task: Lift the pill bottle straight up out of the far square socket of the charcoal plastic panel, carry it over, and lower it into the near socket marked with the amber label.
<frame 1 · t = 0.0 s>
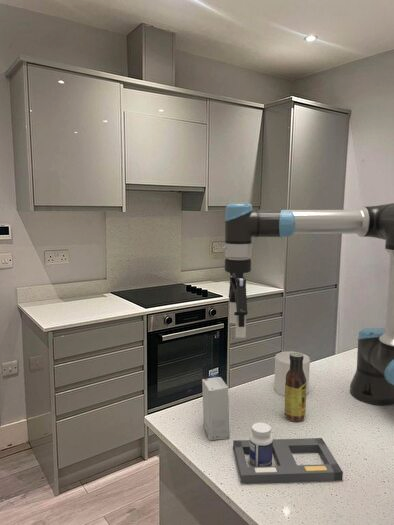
hand: (237, 329, 119), 28 cm above the counter, fingers open, 13 cm apart
socket panel: (284, 463, 102), on the counter
skincare box: (215, 432, 116), on the counter
sauce bottle: (294, 417, 124), on the counter
cup: (291, 390, 142), on the counter
pill bottle: (260, 464, 101), resting in socket panel
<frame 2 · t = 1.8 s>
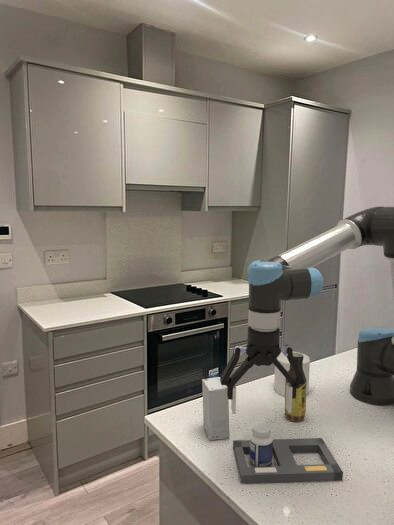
hand: (260, 410, 99), 14 cm above the counter, fingers open, 13 cm apart
nothing on the counter moved.
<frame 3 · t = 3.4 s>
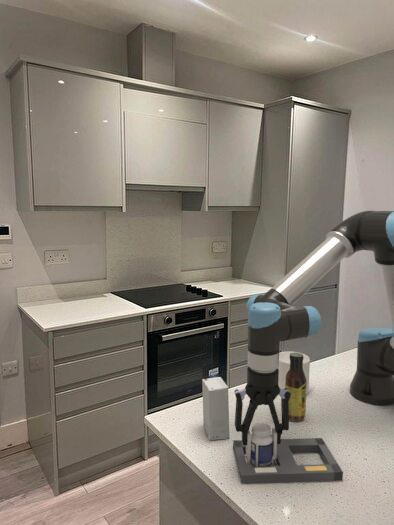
hand: (260, 455, 101), 2 cm above the counter, fingers closed on pill bottle, 6 cm apart
pill bottle: (260, 464, 101), resting in socket panel, touching gripper
everything else where it was.
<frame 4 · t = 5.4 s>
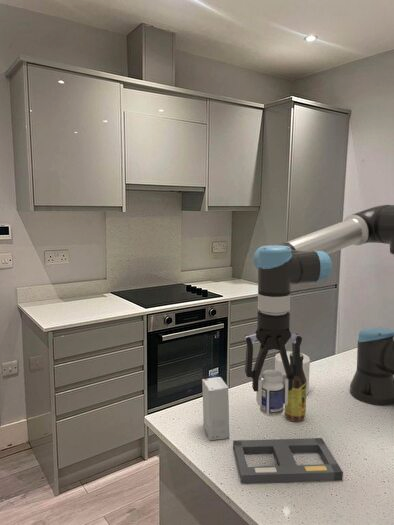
hand: (271, 402, 99), 16 cm above the counter, fingers closed on pill bottle, 6 cm apart
pill bottle: (271, 412, 100), point 14 cm above the counter, touching gripper
everything else where it was.
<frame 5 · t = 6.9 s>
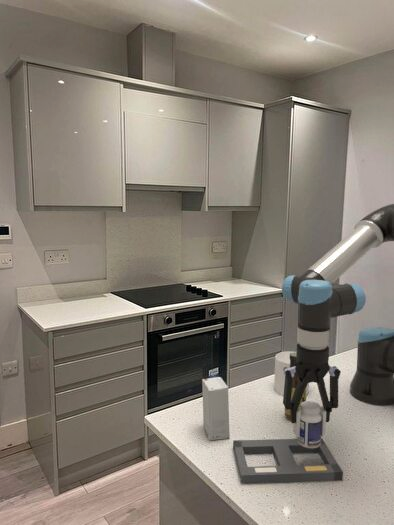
hand: (309, 433, 101), 8 cm above the counter, fingers closed on pill bottle, 6 cm apart
pill bottle: (308, 443, 101), point 5 cm above the counter, touching gripper
everything else where it was.
when the fingers open (4 cm above the counter, at t = 7.8 s): pill bottle drops 1 cm, resting in socket panel.
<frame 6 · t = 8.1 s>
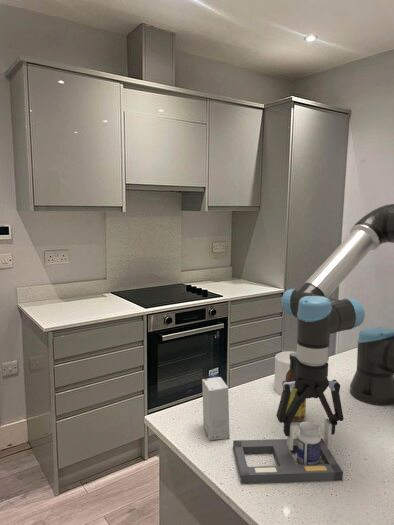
hand: (308, 446, 101), 4 cm above the counter, fingers open, 9 cm apart
pill bottle: (307, 463, 102), resting in socket panel
everything else where it was.
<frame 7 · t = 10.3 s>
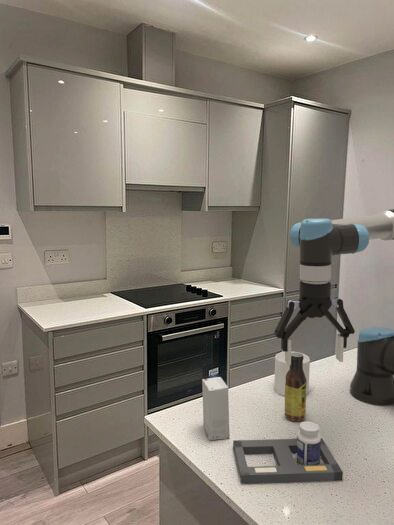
hand: (313, 361, 104), 24 cm above the counter, fingers open, 13 cm apart
nothing on the counter moved.
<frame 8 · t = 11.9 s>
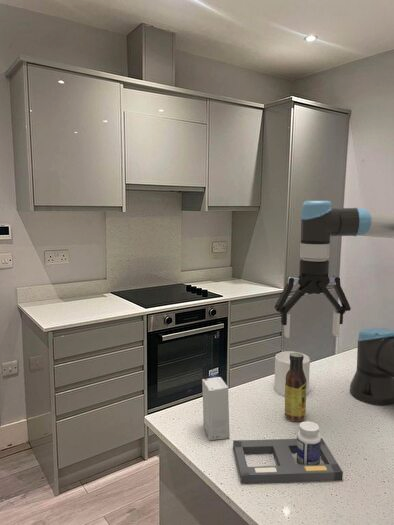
hand: (311, 336, 111), 29 cm above the counter, fingers open, 13 cm apart
nothing on the counter moved.
at the end: pill bottle 0.0 cm from the target spot, resting in socket panel; pill bottle tilted 0°; the gripper is holding nothing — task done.
